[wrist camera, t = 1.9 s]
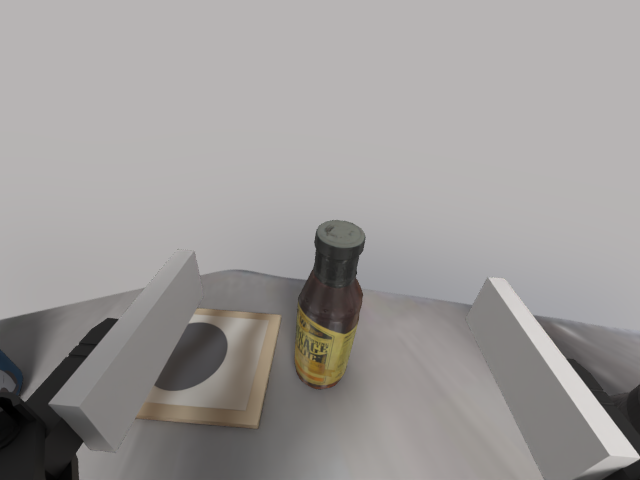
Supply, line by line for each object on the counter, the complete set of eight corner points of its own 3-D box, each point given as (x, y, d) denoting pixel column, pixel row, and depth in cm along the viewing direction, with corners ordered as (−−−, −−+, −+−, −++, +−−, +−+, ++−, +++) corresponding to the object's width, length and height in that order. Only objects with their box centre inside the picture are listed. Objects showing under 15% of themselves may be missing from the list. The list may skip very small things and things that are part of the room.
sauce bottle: (284, 360, 34) (283, 220, 23) (326, 337, 37) (341, 204, 26) (314, 407, 30) (329, 262, 19) (358, 377, 33) (392, 237, 22)
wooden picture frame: (281, 318, 40) (281, 314, 39) (258, 428, 28) (257, 424, 27) (142, 307, 40) (139, 302, 39) (60, 411, 28) (56, 406, 27)
